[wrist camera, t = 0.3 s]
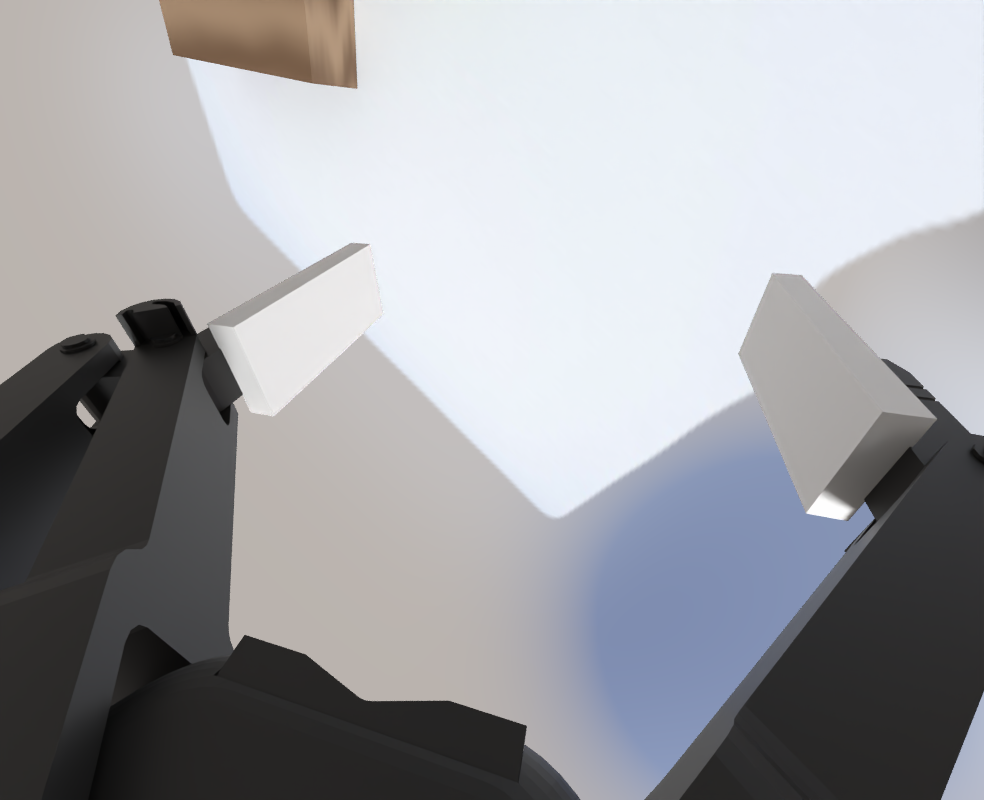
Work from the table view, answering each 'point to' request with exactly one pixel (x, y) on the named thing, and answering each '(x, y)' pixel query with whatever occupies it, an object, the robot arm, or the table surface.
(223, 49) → the walnut plinth
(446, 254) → the table surface
